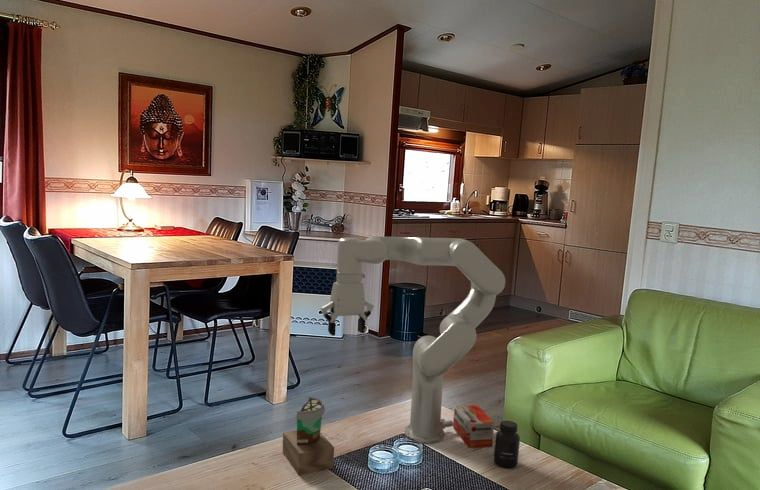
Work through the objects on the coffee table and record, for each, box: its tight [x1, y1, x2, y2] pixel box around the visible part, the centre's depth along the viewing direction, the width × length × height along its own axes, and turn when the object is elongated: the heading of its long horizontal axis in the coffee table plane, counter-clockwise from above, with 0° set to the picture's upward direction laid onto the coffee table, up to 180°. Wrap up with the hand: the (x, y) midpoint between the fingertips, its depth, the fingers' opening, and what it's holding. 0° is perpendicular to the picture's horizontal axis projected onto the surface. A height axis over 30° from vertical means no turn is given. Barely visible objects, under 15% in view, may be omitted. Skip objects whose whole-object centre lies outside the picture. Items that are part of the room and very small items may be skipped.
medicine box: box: [452, 404, 495, 449], centre depth 180 cm, size 15×8×8 cm, turn 12°
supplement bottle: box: [493, 420, 521, 470], centre depth 164 cm, size 7×7×12 cm
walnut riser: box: [282, 429, 335, 476], centre depth 160 cm, size 10×14×6 cm
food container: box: [296, 396, 326, 445], centre depth 160 cm, size 12×6×10 cm, turn 171°
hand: (346, 333), depth 175 cm, fingers open, 9 cm apart
